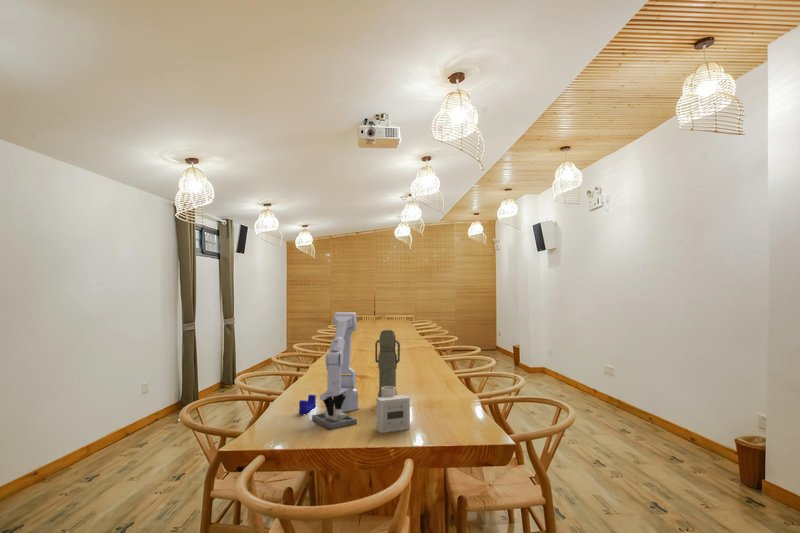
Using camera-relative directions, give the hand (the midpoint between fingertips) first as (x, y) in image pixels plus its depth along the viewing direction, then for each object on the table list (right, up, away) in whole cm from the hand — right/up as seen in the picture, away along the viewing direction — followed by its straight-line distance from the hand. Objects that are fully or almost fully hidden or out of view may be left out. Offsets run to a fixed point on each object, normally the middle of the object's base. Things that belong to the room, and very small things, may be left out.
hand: (334, 414), depth 183 cm
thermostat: (+23, -3, -5) cm, 24 cm away
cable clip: (-15, -4, +17) cm, 23 cm away
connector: (0, -2, 0) cm, 2 cm away
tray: (0, -3, 0) cm, 3 cm away
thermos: (+21, -5, +26) cm, 34 cm away
